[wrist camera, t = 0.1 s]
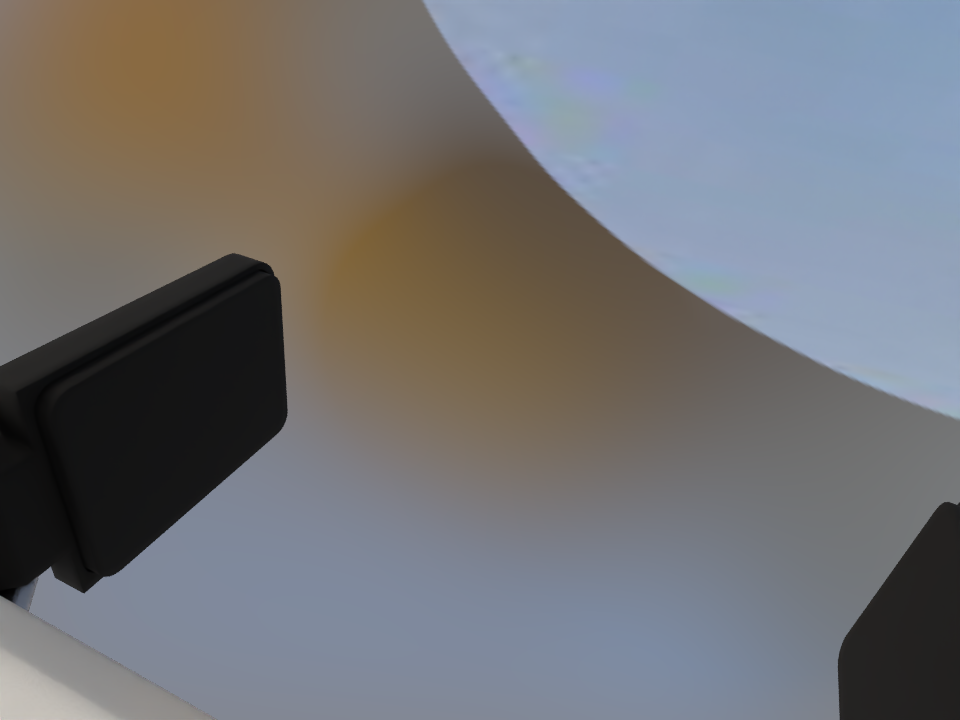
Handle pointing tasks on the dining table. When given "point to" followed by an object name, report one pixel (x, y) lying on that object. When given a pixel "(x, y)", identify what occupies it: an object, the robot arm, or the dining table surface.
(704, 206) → the dining table surface
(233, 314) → the robot arm
